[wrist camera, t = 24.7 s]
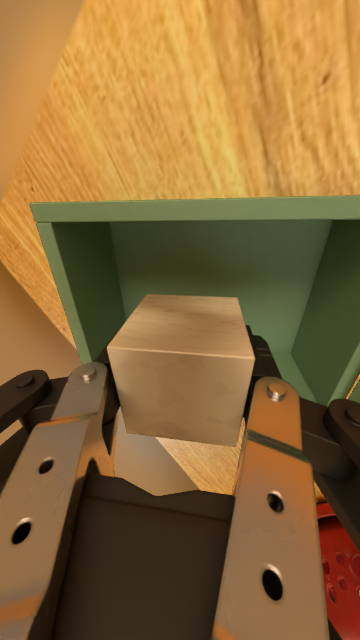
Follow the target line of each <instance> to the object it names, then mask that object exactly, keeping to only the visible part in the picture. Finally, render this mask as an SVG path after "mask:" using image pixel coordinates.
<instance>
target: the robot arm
mask: <svg viewBox="0 0 360 640" xmlns="http://www.w3.org/2000/svg"><path fill="white" fill-rule="evenodd" d="M246 329H247V332H248V336H249V339H250V342H251V346H252V349H253V353H254V356H255V362H254V367H253V372H252V376H251V381H250V385H249V390H248V395H247V399H246V404H245V408H244V413H243V417H244V419H245V429H244V434H243V439H242V445H241V450H240V455H239V460H238V466H237V471H236V476H235V481H234V486H233V491H232V495H226V494H219V493H213V492H207V491H200V490H193V491H187V492H182V493H175V494H169V495H163V496H154V495H152V494H150V493H148V492H146V491H145V490H143V489H141V488H139V487H137V486H135V485H134V484H131V483H130V482H128V481H126V480H124V479H123V478H118V477H115V471H114V455H115V446H116V437H117V428H118V419H119V414H118V409H119V407H120V402H119V397H118V393H117V389H116V385H115V381H114V377H113V372H112V368H111V364H110V360H109V356H108V352H107V346H108V345H109V343H110V342H111V341H112V339H113V338H114V337H115V335H116V334H117V333H118V331H117V332H116V333H115V334H114V336H113V337H112V339H111V340H110V341H109V342H108V345H106V346H105V348H104V349H103V350H102V351H101V353H100V354H99V355H98V357H97V358H96V359H95V361H94V362H89V363H86V364H83V365H81V366H79V367H77V368H76V369H75V370H74V371H73V372H72V373H71V374H70V376H69V377H63V378H57V379H49V377H48V375H47V373H46V372H45V371H43V370H32V371H27V372H24V373H22V374H20V375H18V376H16V377H14V378H13V379H11V380H9V381H8V382H6V383H5V384H3V385H2V386H0V433H1V432H2V431H4V430H5V429H6V428H8V427H9V426H10V425H11V424H12V423H14V422H15V421H16V420H19V421H20V423H21V424H22V426H23V427H22V428H21V429H19V430H18V431H17V432H16V433H15V434H14V435H12V436H11V437H10V438H9V439H8V440H6V441H5V442H4V443H3V444H2V445H1V446H0V640H342V638H341V637H340V635H339V634H338V632H337V631H336V629H335V628H334V626H333V625H332V623H331V621H330V620H329V618H328V617H327V609H326V599H325V589H324V579H323V569H322V559H321V549H320V539H319V528H318V518H317V508H316V498H315V488H314V481H315V482H316V484H317V486H318V487H319V489H320V490H321V492H322V494H323V495H324V497H325V498H326V500H327V502H328V503H329V505H330V506H331V508H332V510H333V511H334V513H335V514H336V516H337V518H338V519H339V521H340V522H341V524H342V526H343V527H344V529H345V530H346V532H347V533H348V535H349V537H350V538H351V540H352V541H353V543H354V545H355V546H356V548H357V549H358V551H359V553H360V403H357V402H355V401H352V400H348V399H334V400H332V401H331V402H330V404H329V405H328V406H325V405H322V404H319V403H316V402H313V401H310V400H307V399H304V398H302V397H300V396H299V395H298V392H297V391H296V389H295V388H294V387H293V386H292V385H291V384H289V383H288V382H286V381H285V380H283V379H282V376H281V374H280V372H279V369H278V367H277V364H276V362H275V360H274V357H273V355H272V353H271V351H270V348H269V345H268V343H267V341H265V340H264V339H263V338H262V337H261V336H260V335H253V334H252V331H251V328H250V326H249V325H246Z"/></svg>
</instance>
